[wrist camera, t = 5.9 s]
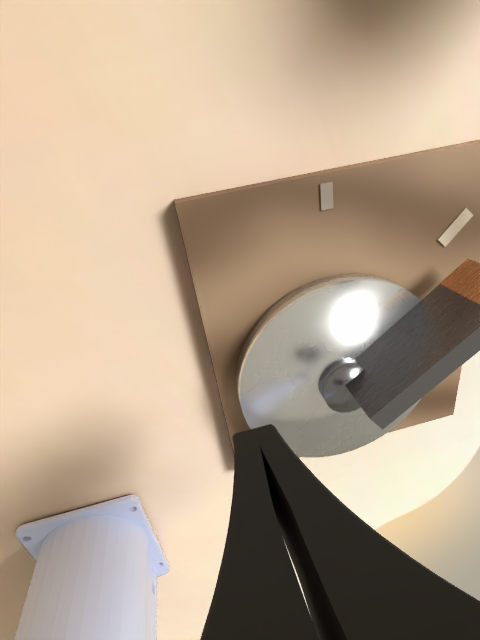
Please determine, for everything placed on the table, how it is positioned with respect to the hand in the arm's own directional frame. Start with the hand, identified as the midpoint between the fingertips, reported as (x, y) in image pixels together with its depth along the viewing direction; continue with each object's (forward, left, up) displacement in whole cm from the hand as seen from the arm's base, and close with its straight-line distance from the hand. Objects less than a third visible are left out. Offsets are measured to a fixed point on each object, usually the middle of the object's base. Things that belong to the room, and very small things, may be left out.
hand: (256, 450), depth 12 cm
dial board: (-2, -7, -9) cm, 12 cm away
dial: (-3, -7, -8) cm, 11 cm away
